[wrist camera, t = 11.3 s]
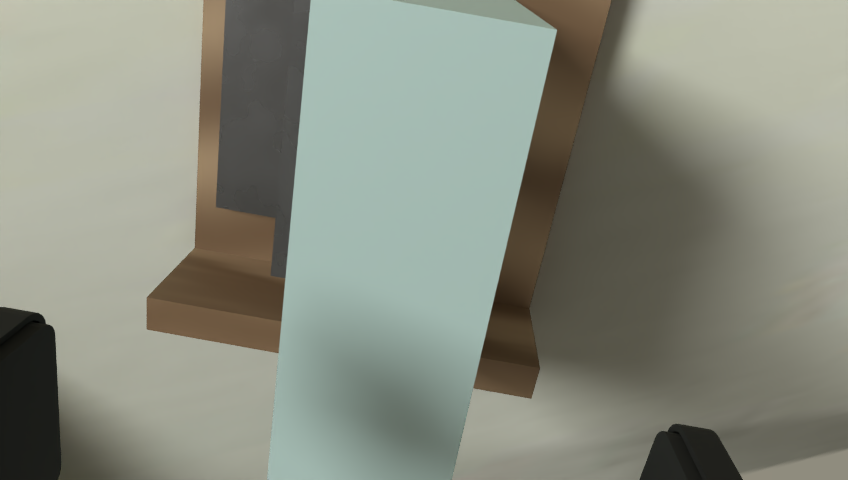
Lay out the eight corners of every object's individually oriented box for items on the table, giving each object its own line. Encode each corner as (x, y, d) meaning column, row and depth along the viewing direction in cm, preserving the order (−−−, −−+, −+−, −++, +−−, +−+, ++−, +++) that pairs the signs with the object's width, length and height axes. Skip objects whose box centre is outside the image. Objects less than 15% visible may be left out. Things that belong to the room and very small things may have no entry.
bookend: (324, 221, 30) (291, 279, 24) (220, 202, 30) (164, 256, 24) (351, -10, 26) (320, -3, 20) (232, -32, 26) (168, -32, 20)
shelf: (519, 319, 33) (531, 398, 27) (205, 262, 33) (146, 329, 27) (615, -44, 26) (659, -47, 20) (221, -118, 26) (148, -142, 20)
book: (453, 268, 30) (442, 520, 17) (357, 251, 30) (266, 489, 16) (508, -4, 26) (557, 29, 12) (395, -25, 26) (312, -14, 12)
